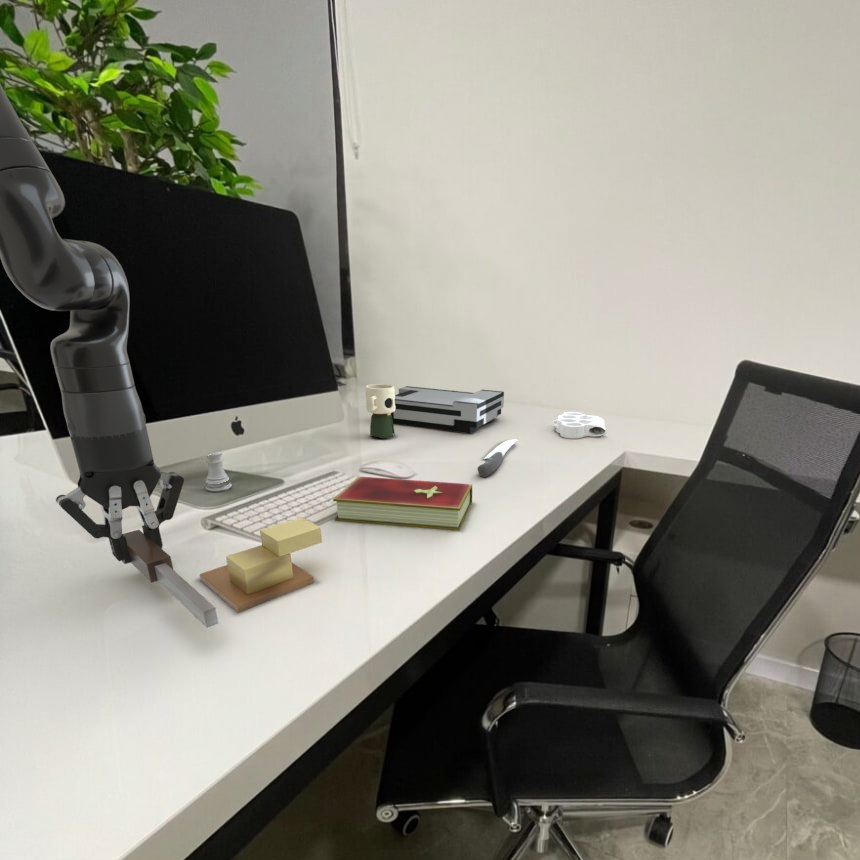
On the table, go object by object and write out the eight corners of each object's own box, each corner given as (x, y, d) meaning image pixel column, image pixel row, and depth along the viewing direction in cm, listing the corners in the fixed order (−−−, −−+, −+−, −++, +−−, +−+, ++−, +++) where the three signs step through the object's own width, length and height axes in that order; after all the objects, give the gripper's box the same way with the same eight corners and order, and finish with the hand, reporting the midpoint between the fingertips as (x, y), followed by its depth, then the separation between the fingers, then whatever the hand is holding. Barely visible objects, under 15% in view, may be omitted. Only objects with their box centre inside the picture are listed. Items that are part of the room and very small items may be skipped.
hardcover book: (360, 495, 102) (359, 474, 101) (472, 503, 100) (472, 482, 99) (335, 521, 91) (332, 497, 90) (459, 530, 89) (459, 506, 87)
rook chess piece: (203, 487, 104) (195, 446, 101) (228, 483, 106) (222, 443, 103) (209, 494, 100) (202, 452, 97) (235, 489, 103) (229, 448, 100)
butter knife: (199, 631, 57) (195, 609, 56) (121, 553, 72) (116, 535, 71) (225, 620, 58) (221, 599, 58) (143, 547, 74) (139, 529, 73)
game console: (407, 408, 174) (406, 382, 171) (503, 419, 164) (504, 391, 161) (371, 422, 155) (370, 393, 152) (476, 435, 145) (476, 404, 142)
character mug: (386, 443, 135) (384, 390, 131) (360, 441, 137) (356, 388, 132) (403, 433, 145) (402, 383, 140) (378, 431, 147) (376, 381, 142)
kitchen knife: (499, 437, 140) (517, 433, 139) (501, 447, 141) (520, 443, 140) (466, 469, 114) (488, 465, 112) (469, 480, 114) (492, 476, 113)
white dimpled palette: (605, 440, 144) (549, 437, 146) (603, 425, 161) (552, 422, 162) (606, 428, 143) (550, 424, 145) (604, 413, 160) (553, 410, 161)
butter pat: (279, 557, 69) (277, 541, 69) (261, 545, 72) (259, 529, 72) (322, 542, 74) (320, 527, 73) (303, 531, 77) (301, 517, 76)
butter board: (238, 613, 65) (232, 580, 64) (200, 580, 72) (194, 549, 71) (314, 583, 72) (311, 552, 71) (273, 555, 79) (269, 527, 78)
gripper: (161, 412, 72) (186, 532, 78) (26, 430, 62) (66, 566, 68) (184, 422, 67) (208, 549, 74) (41, 443, 58) (83, 587, 64)
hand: (139, 556), depth 71 cm, fingers closed on butter knife, 2 cm apart
